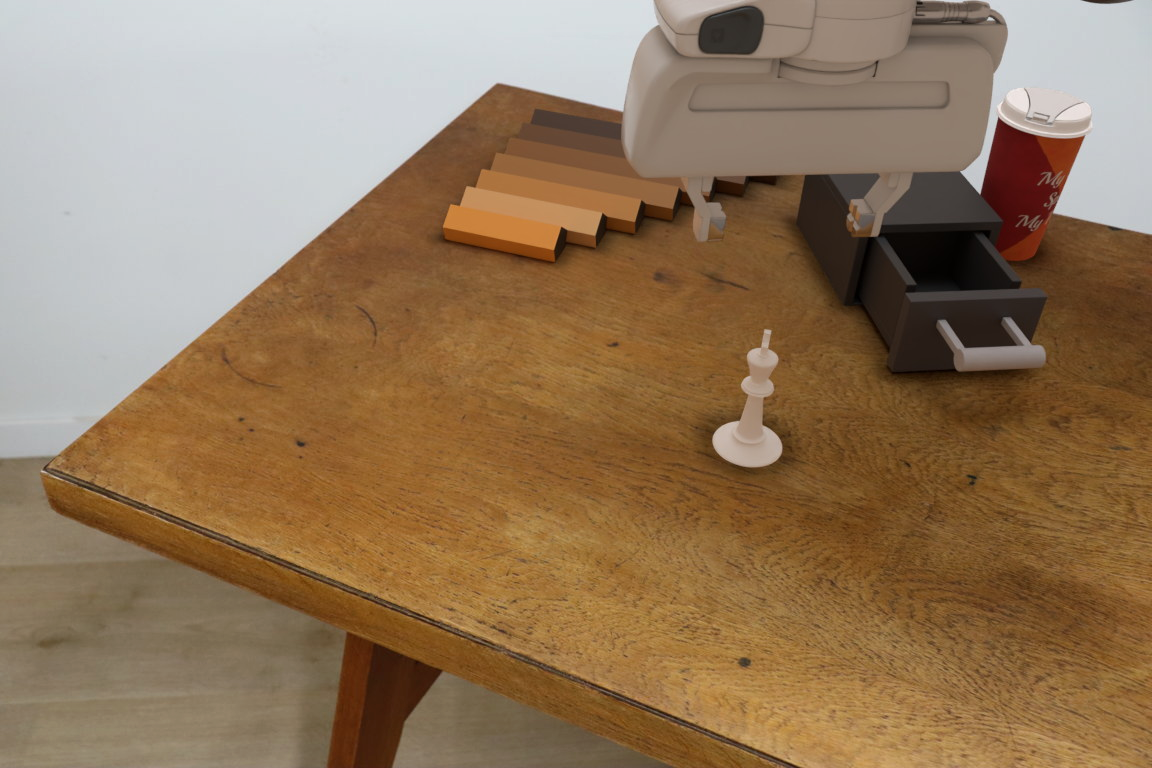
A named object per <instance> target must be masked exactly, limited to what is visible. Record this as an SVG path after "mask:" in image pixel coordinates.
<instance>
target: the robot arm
mask: <svg viewBox="0 0 1152 768" xmlns="http://www.w3.org/2000/svg"><path fill="white" fill-rule="evenodd" d="M1081 1H1082V2H1087V3H1091V4H1098V5H1100V4H1101V5H1114V4H1122V3H1127V2H1132V1H1133V0H1081ZM652 3H653V10H654V15H655V19H656V21H657V25H655V26H653V27H652V28H651V29H650V30H649V31H648V32H647V33H646V34H645V35H644V36H643V37H642V39H641V41H640V43H639V45H638V46H637V48H636V51H635V54H634V57H633V60H632V64H631V68H630V73H629V76H628V82H627V86H626V91H625V98H624V104H623V110H622V118H621V124H622V127H621V141H622V146H623V150H624V153H625V156H626V158H627V160H628V162H629V163H630V165H631V166H632V167H633V168H634V170H635V171H636V172H637V173H638V174H639V175H640V176H641V177H644V178H673V177H680V178H681V180H682V182H683V184H684V187H685V189H686V191H687V193H688V195H689V197H690V199H691V201H692V203H693V205H694V206H693V205H692V206H693V207H694V212H693V220H692V230H693V234H694V237H695V240H696V242H698V243H705V242H706V243H711V242H723V240H724V238H725V233H724V231H723V230H724V229H725V228H726V224H727V215H726V213H725V211H723V207H722V205H721V203H720V202H711V203H706V201H705V199H704V197H703V195H702V193H701V190H702V191H703V192H710V191H711V188H712V182H713V177H722V176H770V175H779V176H805V175H818V174H868V173H878V174H879V176H880V178H879V179H878V180H877V182H876V183H875V184H874V185H873V187H872V188H871V189H870V191H869V192H868V193H867V194H866V196H865V197H864V199H851V201H850V205H849V211H850V213H849V214H848V215H847V219H846V226H847V229H848V231H850V232H851V235H852V237H878V235H879V232H880V228H881V224H882V220H883V216H884V213H887V212H888V210H889V209H890V208H891V207H892V206H893V205H894V204H895V203H896V202H897V201H898V200H899V199H900V198H901V197H902V195H903V194H904V193H905V192H906V191H907V190H908V189H909V188H910V184H911V180H912V176H913V173H917V172H959V171H960V172H963V171H965V170H966V169H967V168H968V167H970V166H971V165H972V164H973V163H974V162H975V161H976V160H977V159H978V158H979V157H980V155H981V153H982V151H983V148H984V145H985V139H986V135H987V130H988V125H989V121H990V120H989V119H990V113H991V108H992V101H993V90H994V75H995V73H996V72H997V70H998V68H999V67H1000V65H1001V62H1002V59H1003V57H1004V56H1003V55H1004V52H1005V49H1006V45H1007V42H1008V37H1009V30H1008V29H1009V28H1008V25H1007V22H1006V19H1005V18H1004V16H1003V15H1002V14H1001V13H1000V12H999V11H997V10H995V9H993V8H991V6H990V3H989V2H987V1H982V0H964V1H962V2H960V1H959V2H955V1H944V0H652ZM989 18H990V20H988V19H989ZM992 19H993V20H992Z"/></svg>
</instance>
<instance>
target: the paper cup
mask: <svg viewBox="0 0 1152 768" xmlns="http://www.w3.org/2000/svg"><path fill="white" fill-rule="evenodd" d="M995 113H996V116H997V119H996V120H997V121H996V124H995V129H994V133H993V137H992V143H991V146H990V150H989V154H988V159H987V162H986V163H987V164H986V168H985V172H984V175H983V181H982V185H981V189H980V193H979V194H980V195H981V196H982V197H983V199H984V200H985V201H986V202H987V203H988V204H989V205H990V207H991V208H992V209H993V210H994V211H995V212H996V214H997V215H998V216H999V217H1000V218H1001V219H1002V220H1003V224H1002V227H1001V230H1000V233H999V236H998V239H997V243H996V246H995V248H996V250H997V251H998V252H999V253H1000V254H1001V256H1002V257H1003V258H1004V259H1005V261H1008V262H1009V261H1011V262H1019V261H1027V260H1029V259H1031V258H1033V257H1034V256H1035V255H1036V253H1037V252H1038V248H1039V246H1040V244H1041V242H1042V241H1043V240H1042V239H1043V237H1044V235H1045V232H1046V231H1047V228H1048V226H1049V223H1050V221H1051V218H1052V216H1053V214H1054V212H1055V209H1056V207H1057V204H1058V202H1059V199H1060V198H1061V195H1062V193H1063V190H1064V187H1065V185H1066V183H1067V181H1068V178H1069V176H1070V173H1071V171H1072V169H1073V167H1074V163H1075V161H1076V159H1077V156H1078V154H1079V152H1080V149H1081V147H1082V144H1083V142H1084V140H1085V138H1086V135H1089V134H1090V133H1091V132H1092V131H1093V129H1094V124H1093V120H1092V115H1093V112H1092V107H1091V106H1090V105H1089V104H1088V102H1086V101H1084V100H1083V99H1081V98H1079V97H1077V96H1075V95H1073V94H1071V93H1068V92H1065V91H1060V90H1057V89H1052V88H1046V87H1037V86H1034V87H1033V86H1031V87H1030V86H1029V87H1027V86H1025V87H1017V88H1014V89H1011V90H1010V91H1009V92H1008V93H1007V94H1005V96H1004V99H1003V100H1002V101H1001V102H1000V103H999V104H997V106H996V108H995Z"/></svg>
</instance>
